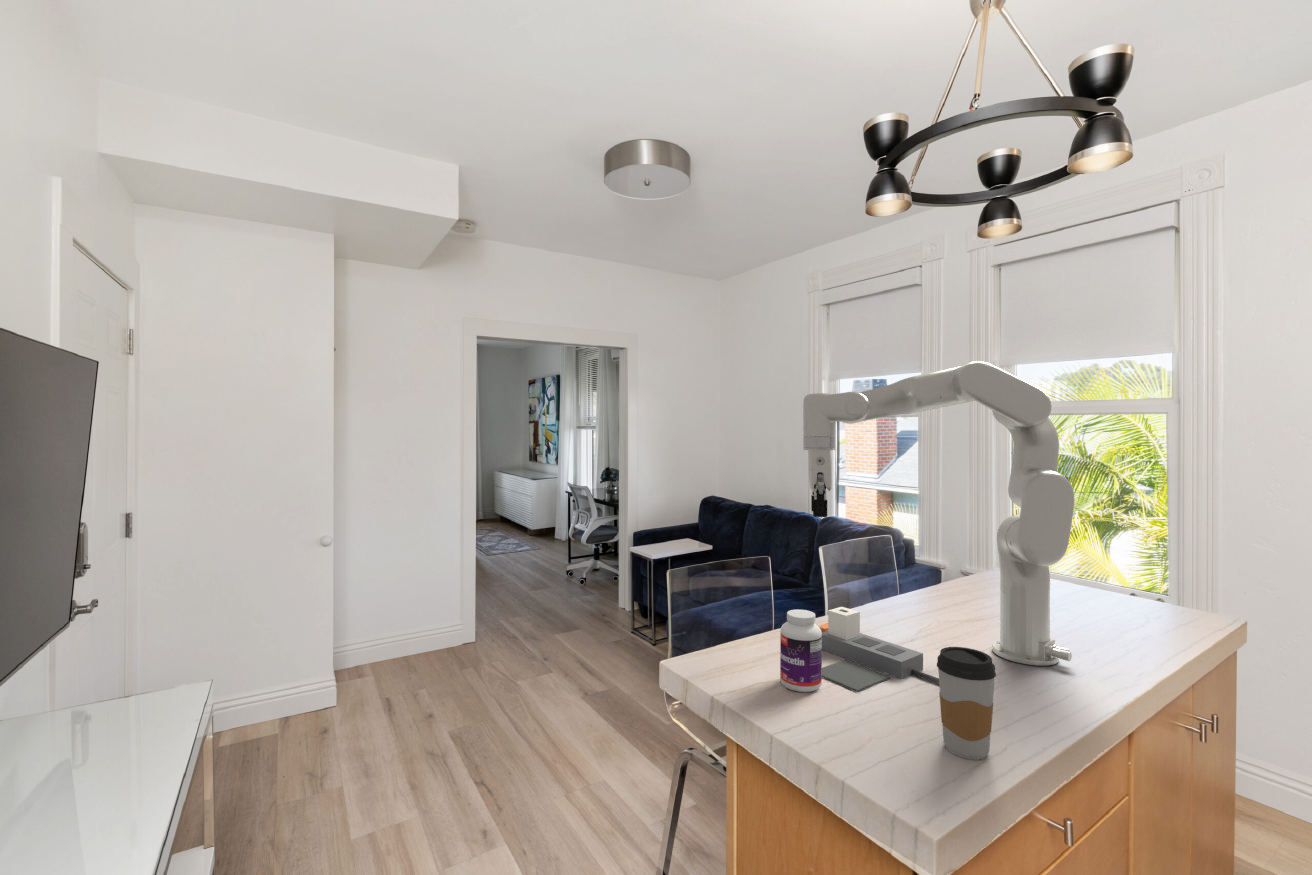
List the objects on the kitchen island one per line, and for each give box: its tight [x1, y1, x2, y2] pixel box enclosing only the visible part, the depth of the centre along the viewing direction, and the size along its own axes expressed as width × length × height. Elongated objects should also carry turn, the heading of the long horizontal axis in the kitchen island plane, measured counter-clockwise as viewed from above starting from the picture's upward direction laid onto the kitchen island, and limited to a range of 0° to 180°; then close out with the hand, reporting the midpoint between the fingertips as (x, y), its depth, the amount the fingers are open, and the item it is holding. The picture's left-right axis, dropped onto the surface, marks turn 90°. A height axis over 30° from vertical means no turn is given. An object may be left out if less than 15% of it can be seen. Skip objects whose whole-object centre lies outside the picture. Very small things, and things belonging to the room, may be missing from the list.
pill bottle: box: [779, 609, 823, 693], centre depth 115 cm, size 8×8×14 cm
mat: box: [822, 658, 892, 693], centre depth 119 cm, size 11×11×1 cm
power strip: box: [817, 622, 939, 684], centre depth 125 cm, size 36×8×4 cm, turn 35°
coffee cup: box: [936, 646, 997, 761], centre depth 91 cm, size 8×8×15 cm
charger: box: [827, 606, 861, 640], centre depth 134 cm, size 5×5×6 cm
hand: (819, 513), depth 141 cm, fingers open, 9 cm apart
